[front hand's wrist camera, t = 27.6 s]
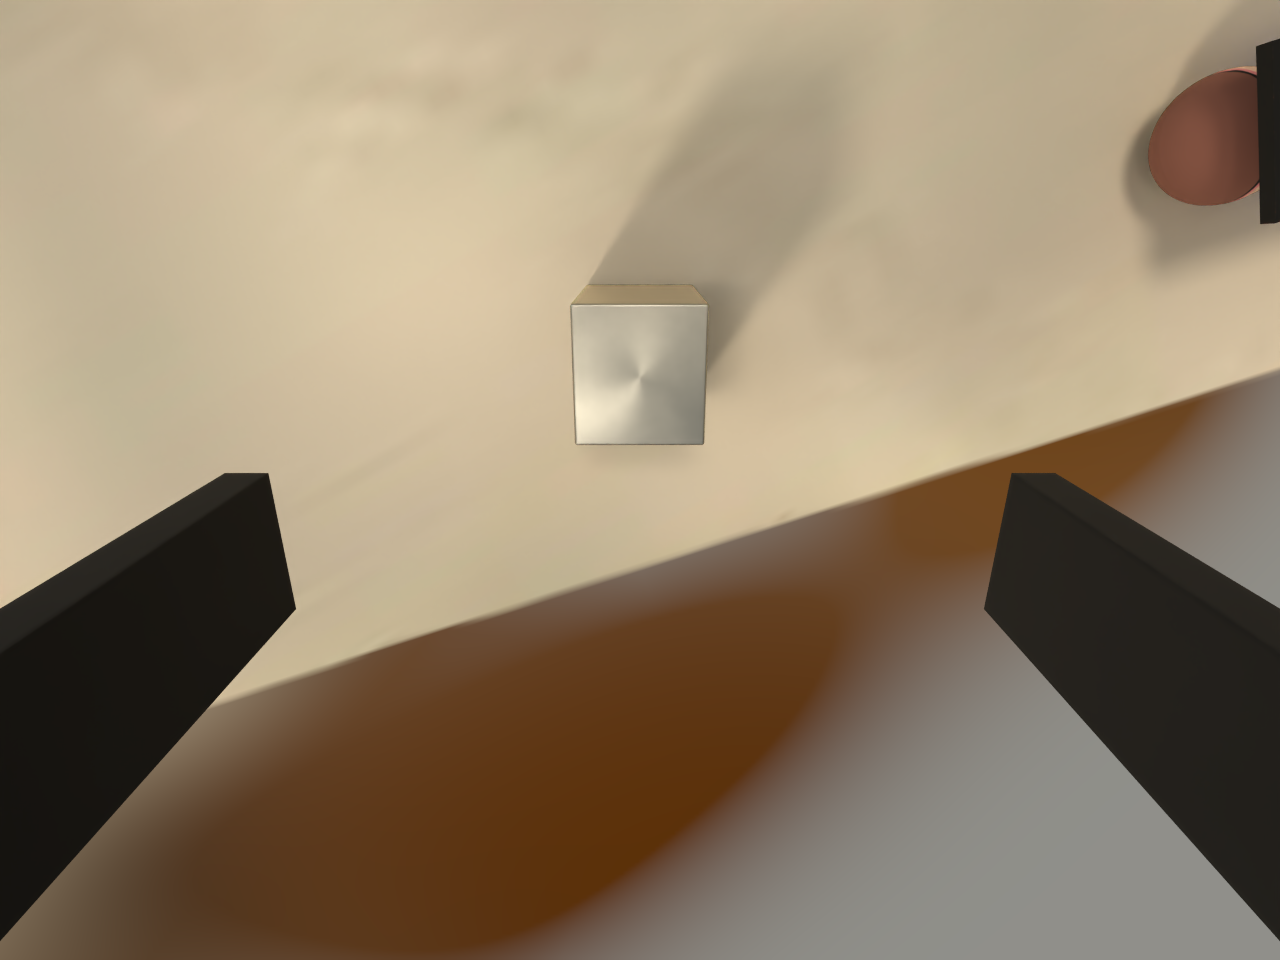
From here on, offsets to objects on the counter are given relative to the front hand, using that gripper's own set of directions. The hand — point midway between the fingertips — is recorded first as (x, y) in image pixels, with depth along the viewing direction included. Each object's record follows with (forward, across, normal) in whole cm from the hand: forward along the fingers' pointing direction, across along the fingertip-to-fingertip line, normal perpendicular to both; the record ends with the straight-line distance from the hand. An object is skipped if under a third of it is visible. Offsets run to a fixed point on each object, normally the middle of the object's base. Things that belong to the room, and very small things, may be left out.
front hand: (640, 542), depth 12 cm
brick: (+22, 0, 0) cm, 22 cm away
